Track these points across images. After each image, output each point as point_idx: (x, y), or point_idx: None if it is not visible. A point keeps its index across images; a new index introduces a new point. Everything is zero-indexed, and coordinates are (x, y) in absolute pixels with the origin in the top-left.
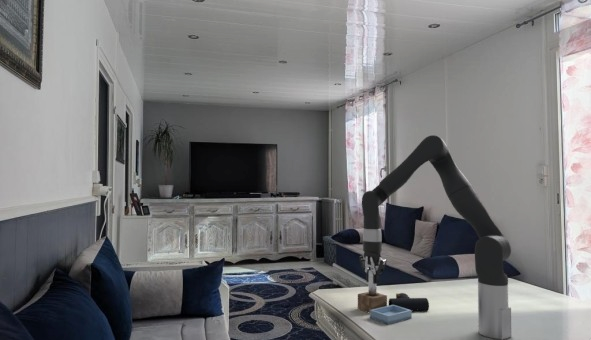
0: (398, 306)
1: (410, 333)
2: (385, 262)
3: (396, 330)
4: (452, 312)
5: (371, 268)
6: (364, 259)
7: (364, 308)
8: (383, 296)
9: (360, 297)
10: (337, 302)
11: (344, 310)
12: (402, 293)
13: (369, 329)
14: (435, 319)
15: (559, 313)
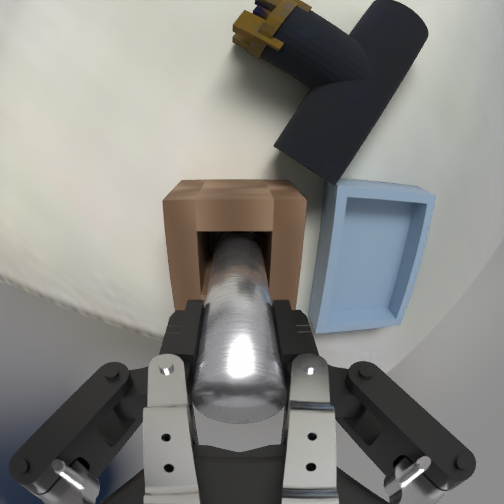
0: (373, 191)
1: (451, 302)
2: (456, 455)
3: (421, 317)
4: (448, 7)
5: (186, 391)
6: (94, 484)
7: None
8: (303, 232)
9: None
10: (76, 277)
11: None
12: (284, 16)
13: None
14: (465, 128)
15: None
